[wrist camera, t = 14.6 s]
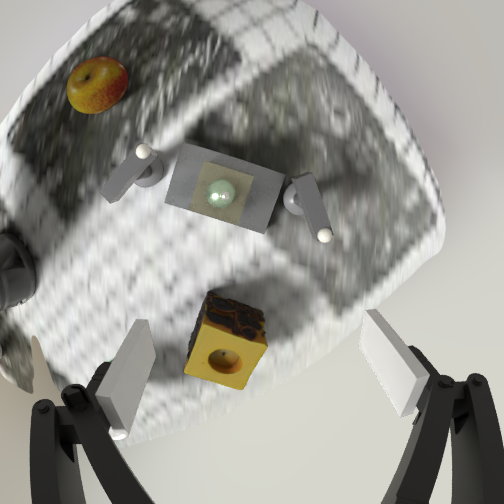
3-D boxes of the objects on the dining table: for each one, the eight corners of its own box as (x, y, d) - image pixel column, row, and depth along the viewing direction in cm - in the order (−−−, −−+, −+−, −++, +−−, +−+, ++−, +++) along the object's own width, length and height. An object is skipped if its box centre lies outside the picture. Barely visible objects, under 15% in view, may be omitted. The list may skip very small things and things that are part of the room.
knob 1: (141, 200, 41) (114, 212, 31) (120, 178, 40) (88, 185, 30) (179, 160, 40) (160, 159, 30) (156, 137, 39) (132, 131, 29)
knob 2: (274, 179, 41) (285, 184, 31) (305, 167, 41) (325, 169, 31) (293, 231, 44) (310, 251, 34) (323, 219, 44) (347, 236, 34)
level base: (168, 200, 42) (147, 212, 32) (186, 143, 39) (169, 137, 29) (262, 230, 44) (270, 251, 34) (283, 174, 41) (297, 178, 31)
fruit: (131, 56, 34) (112, 38, 27) (138, 104, 37) (118, 93, 29) (80, 78, 34) (55, 67, 27) (86, 124, 37) (60, 120, 30)
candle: (207, 289, 46) (200, 321, 37) (264, 310, 48) (270, 344, 39) (189, 336, 49) (180, 372, 40) (241, 354, 51) (242, 391, 41)
